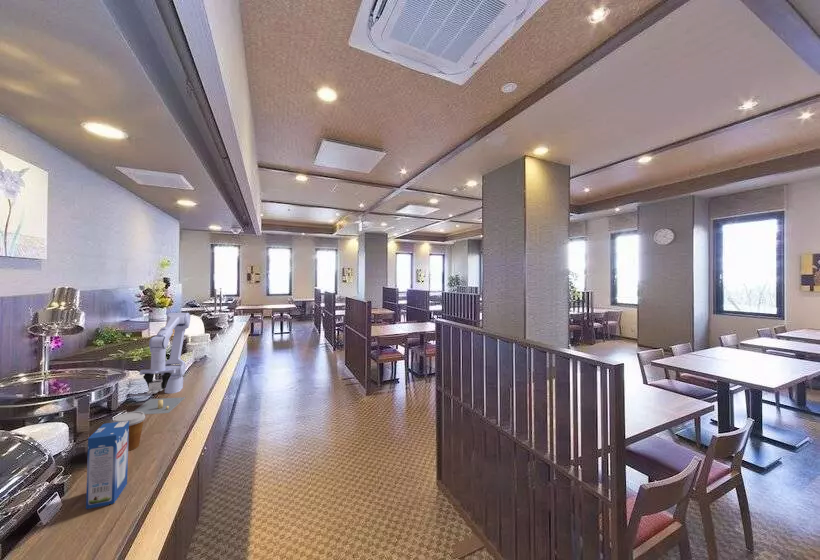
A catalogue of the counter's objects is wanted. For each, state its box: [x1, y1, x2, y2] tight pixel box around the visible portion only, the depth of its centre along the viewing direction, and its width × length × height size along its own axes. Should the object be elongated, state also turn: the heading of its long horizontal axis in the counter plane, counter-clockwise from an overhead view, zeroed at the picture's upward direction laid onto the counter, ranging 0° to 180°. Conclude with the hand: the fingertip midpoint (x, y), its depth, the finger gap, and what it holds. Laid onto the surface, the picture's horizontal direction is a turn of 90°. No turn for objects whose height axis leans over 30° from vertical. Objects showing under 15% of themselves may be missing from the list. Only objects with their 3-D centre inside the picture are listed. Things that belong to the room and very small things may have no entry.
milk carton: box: [85, 421, 129, 510], centre depth 98 cm, size 10×6×20 cm, turn 24°
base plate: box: [132, 396, 186, 415], centre depth 161 cm, size 20×16×5 cm
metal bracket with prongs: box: [147, 379, 164, 394], centre depth 161 cm, size 8×5×4 cm, turn 15°
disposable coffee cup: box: [111, 411, 146, 452], centre depth 125 cm, size 10×10×12 cm
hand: (157, 388), depth 162 cm, fingers closed on metal bracket with prongs, 5 cm apart
